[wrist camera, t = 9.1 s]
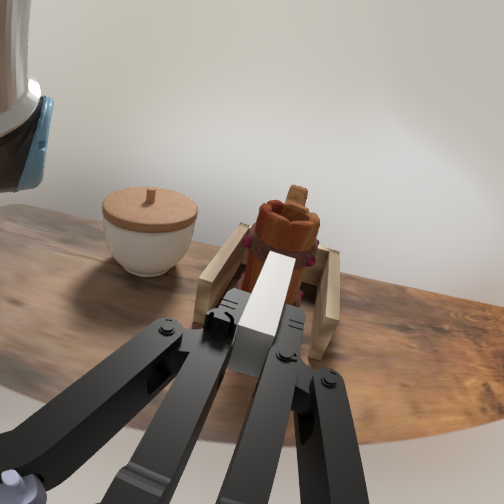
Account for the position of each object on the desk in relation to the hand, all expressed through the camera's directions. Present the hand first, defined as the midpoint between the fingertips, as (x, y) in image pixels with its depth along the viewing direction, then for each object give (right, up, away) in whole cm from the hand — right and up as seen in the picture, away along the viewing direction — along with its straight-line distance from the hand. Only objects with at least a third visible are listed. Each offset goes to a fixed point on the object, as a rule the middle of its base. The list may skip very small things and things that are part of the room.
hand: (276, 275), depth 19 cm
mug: (0, -6, +23) cm, 24 cm away
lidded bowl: (-16, 0, +26) cm, 31 cm away
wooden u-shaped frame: (+1, -5, +24) cm, 24 cm away
